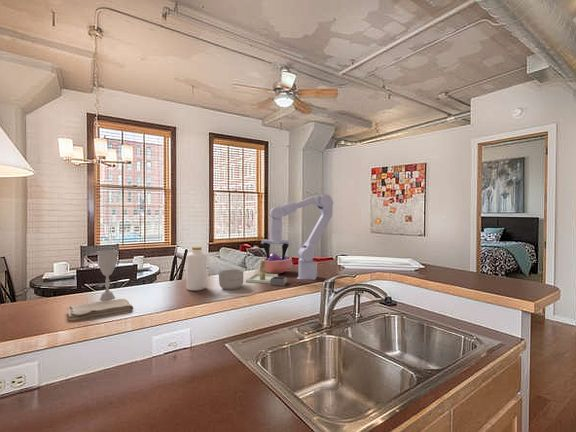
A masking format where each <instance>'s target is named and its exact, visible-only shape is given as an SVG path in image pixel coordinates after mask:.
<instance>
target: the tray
mask: <svg viewBox="0 0 576 432" xmlns="http://www.w3.org/2000/svg"><path fill="white" fill-rule="evenodd" d="M273 277H279V274H270V273H265V280H260V272H258V273H257V272H255V273H253V274H252V275H250V276H249V277H247V278H245V280H244V281H245V283H253V284H254V283H256V284H257V283H258V284H270V279H271V278H273Z"/></svg>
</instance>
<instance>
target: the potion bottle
mask: <svg viewBox="0 0 576 432" xmlns="http://www.w3.org/2000/svg"><path fill="white" fill-rule="evenodd" d="M207 262H208V261H207V253H205V252H203V249H202V246H193V247H191V251H190V252H189V253H187V255H186V289H187V290H188V291H192V292H194V291H195V292H196V291H197V292H198V291H202V290H205V289H206V288H207Z"/></svg>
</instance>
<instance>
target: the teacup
mask: <svg viewBox="0 0 576 432" xmlns="http://www.w3.org/2000/svg"><path fill="white" fill-rule="evenodd" d="M217 273H218V284H219V287H220V288H222V289H223V290H227V291H228V290H231V291H232V290H239V289H240V288H241V287H242V286H243V285H244V270H243V268H231V269H223V270H220V271H218V272H217Z"/></svg>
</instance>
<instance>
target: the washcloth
mask: <svg viewBox="0 0 576 432" xmlns="http://www.w3.org/2000/svg"><path fill="white" fill-rule="evenodd" d="M66 310H67V313H68V321H70V322H74V321H81V320H89V319H94V318H95V319H96V318H100V317H106V316H113V315H119V314H124V313H129V312H132V311H133V310H134V306H133V305H132V304H131V303H130V302H129V301H128V300H127V299H126V298H119V299H109V300H101V301H94V302H89V303H88V302H87V303H80V304H73V305H70V306H69V307H67V308H66Z"/></svg>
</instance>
